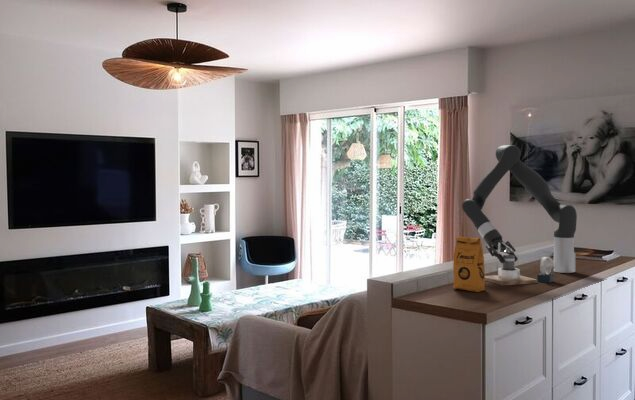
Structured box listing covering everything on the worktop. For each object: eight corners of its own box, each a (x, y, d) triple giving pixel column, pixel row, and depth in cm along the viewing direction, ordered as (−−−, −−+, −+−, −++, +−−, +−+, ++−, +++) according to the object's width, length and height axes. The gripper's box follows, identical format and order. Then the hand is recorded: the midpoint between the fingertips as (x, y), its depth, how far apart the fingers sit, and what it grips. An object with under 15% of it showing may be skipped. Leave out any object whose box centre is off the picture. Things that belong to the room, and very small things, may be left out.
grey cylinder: (509, 276, 262) (509, 254, 261) (516, 278, 257) (517, 256, 256) (500, 277, 260) (500, 255, 260) (507, 278, 255) (507, 256, 255)
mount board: (514, 277, 269) (514, 274, 269) (537, 283, 253) (537, 279, 253) (481, 279, 263) (481, 276, 263) (502, 285, 248) (502, 282, 248)
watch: (555, 280, 259) (555, 256, 258) (548, 283, 253) (548, 258, 253) (542, 279, 263) (543, 255, 262) (535, 281, 257) (535, 257, 256)
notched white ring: (511, 275, 264) (511, 267, 264) (523, 279, 255) (523, 270, 255) (494, 276, 261) (494, 268, 261) (506, 280, 253) (506, 271, 252)
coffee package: (476, 293, 230) (476, 239, 230) (449, 289, 239) (450, 237, 239) (489, 290, 237) (489, 237, 237) (462, 286, 246) (462, 235, 246)
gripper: (483, 229, 261) (504, 257, 251) (504, 227, 268) (525, 254, 259) (474, 240, 265) (494, 267, 256) (495, 238, 273) (515, 265, 264)
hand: (510, 261), depth 258 cm, fingers open, 8 cm apart
